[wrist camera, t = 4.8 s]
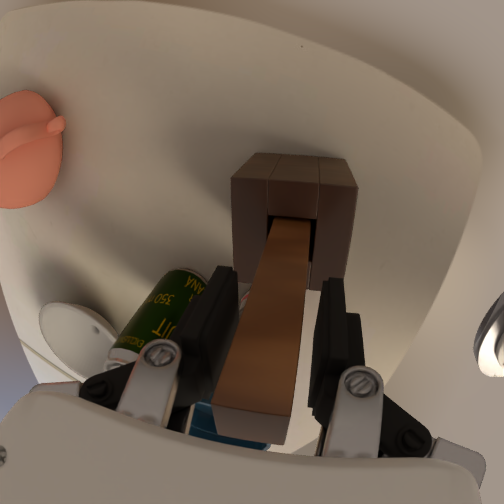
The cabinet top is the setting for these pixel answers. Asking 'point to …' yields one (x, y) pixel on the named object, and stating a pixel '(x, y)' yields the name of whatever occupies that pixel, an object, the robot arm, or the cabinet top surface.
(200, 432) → the bowl
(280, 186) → the stick stand
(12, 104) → the pink teapot
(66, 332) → the dish
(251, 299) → the brown wooden stick
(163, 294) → the green drink can
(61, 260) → the cabinet top surface
